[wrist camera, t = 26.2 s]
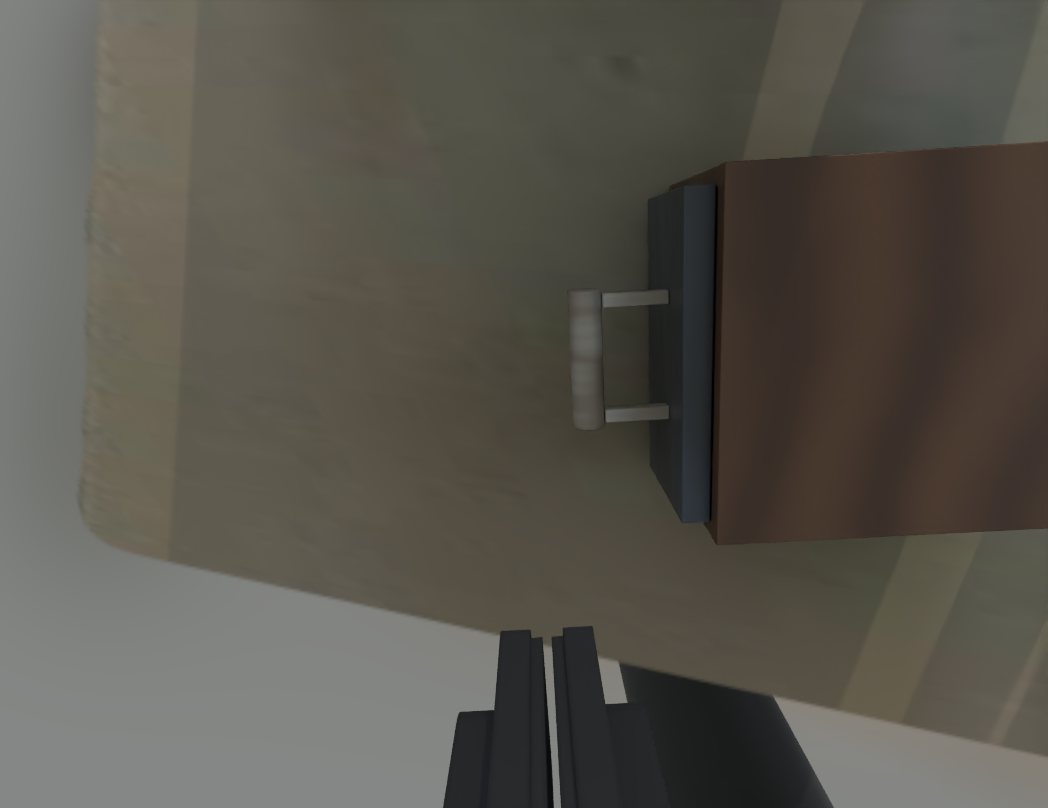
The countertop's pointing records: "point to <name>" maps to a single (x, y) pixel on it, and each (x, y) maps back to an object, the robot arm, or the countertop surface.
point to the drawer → (663, 347)
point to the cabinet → (880, 344)
